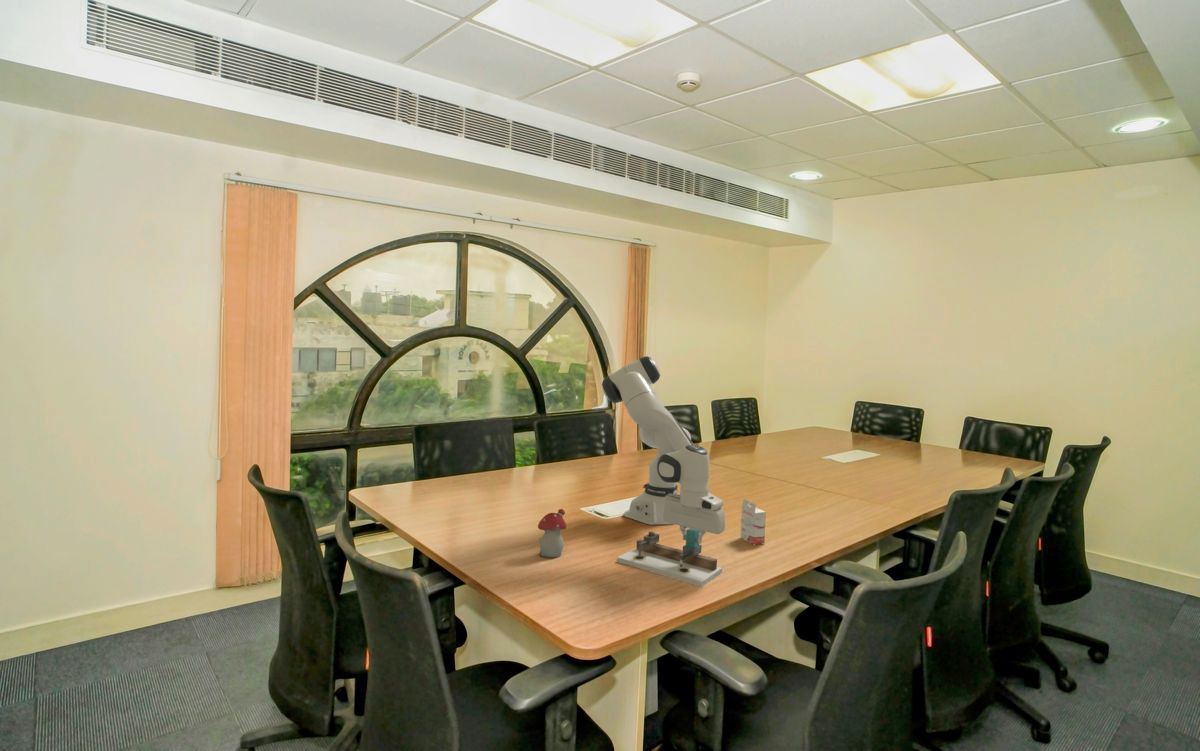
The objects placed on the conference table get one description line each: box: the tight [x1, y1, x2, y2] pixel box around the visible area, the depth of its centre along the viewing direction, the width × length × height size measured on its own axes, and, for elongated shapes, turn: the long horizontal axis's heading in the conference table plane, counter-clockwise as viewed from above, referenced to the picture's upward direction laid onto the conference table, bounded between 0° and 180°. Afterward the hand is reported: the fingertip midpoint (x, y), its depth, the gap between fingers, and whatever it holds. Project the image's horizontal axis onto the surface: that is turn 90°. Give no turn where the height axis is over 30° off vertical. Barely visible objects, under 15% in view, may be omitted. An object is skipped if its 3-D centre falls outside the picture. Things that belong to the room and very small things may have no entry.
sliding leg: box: [679, 528, 702, 567], centre depth 185 cm, size 4×10×10 cm, turn 144°
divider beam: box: [635, 530, 718, 571], centre depth 188 cm, size 28×10×7 cm, turn 54°
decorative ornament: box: [537, 508, 567, 559], centre depth 194 cm, size 9×7×15 cm
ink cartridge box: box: [740, 498, 767, 545], centre depth 214 cm, size 9×5×15 cm, turn 21°
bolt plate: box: [616, 547, 723, 588], centre depth 187 cm, size 30×14×2 cm, turn 54°
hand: (692, 541), depth 186 cm, fingers closed on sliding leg, 3 cm apart
